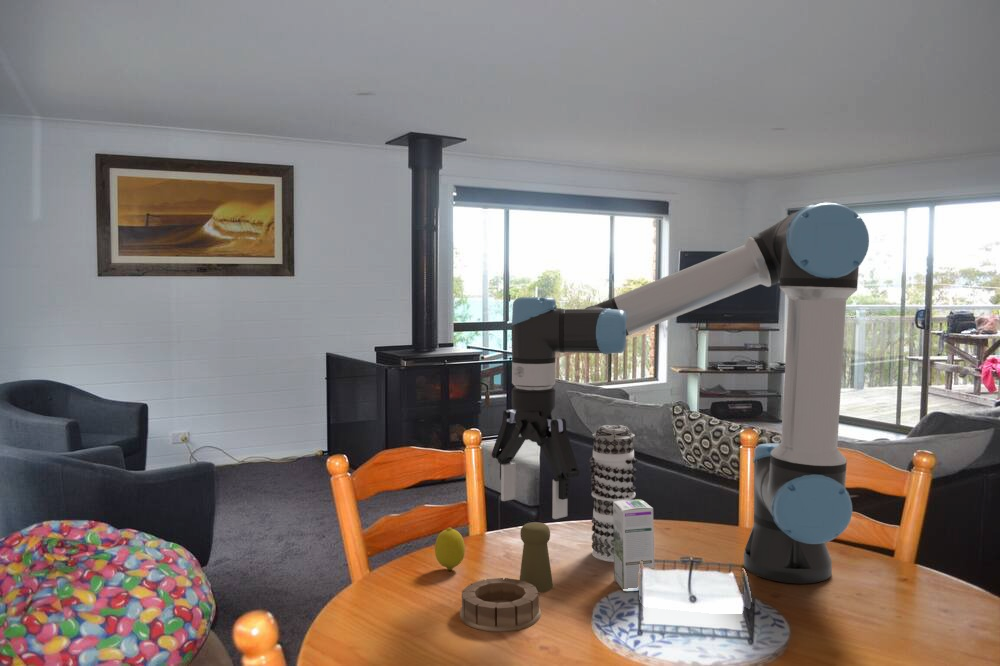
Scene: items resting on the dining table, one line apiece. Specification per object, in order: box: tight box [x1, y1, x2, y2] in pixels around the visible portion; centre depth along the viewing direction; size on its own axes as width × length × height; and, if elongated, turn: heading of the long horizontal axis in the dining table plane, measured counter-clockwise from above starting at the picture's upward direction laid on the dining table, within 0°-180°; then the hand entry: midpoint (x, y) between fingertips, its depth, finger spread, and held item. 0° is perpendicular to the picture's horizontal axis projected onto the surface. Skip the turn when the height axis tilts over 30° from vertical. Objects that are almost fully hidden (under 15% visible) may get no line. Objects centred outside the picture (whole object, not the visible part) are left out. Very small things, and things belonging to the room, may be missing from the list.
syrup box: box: [613, 498, 655, 590], centre depth 135 cm, size 6×6×14 cm
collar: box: [459, 577, 542, 633], centre depth 124 cm, size 13×13×4 cm
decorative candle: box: [589, 424, 639, 563], centre depth 150 cm, size 9×9×25 cm
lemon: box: [434, 527, 466, 571], centre depth 144 cm, size 6×6×8 cm
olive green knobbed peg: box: [519, 521, 554, 593], centre depth 135 cm, size 6×6×11 cm
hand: (533, 508), depth 135 cm, fingers open, 13 cm apart
